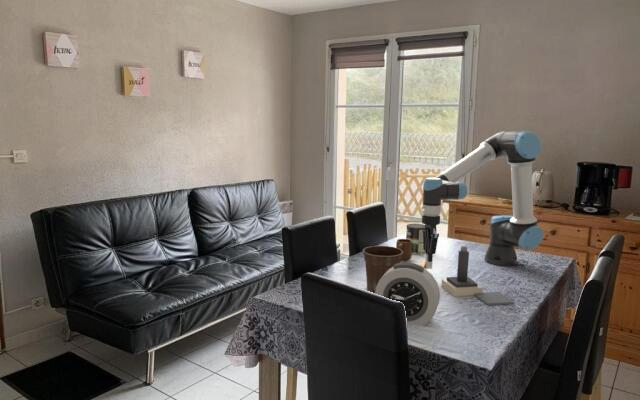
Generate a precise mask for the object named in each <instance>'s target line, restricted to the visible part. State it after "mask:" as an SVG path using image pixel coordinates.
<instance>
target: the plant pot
mask: <svg viewBox="0 0 640 400" xmlns="http://www.w3.org/2000/svg"><path fill="white" fill-rule="evenodd" d="M362 252H363V256H364V257H363V258H364V262H365V276H366V277H365V278H366V288H367V290H369V291H370V292H372V293H375V290H376V286H377V284H378V282H379V280H380V279H381V278H382V277H383V275H384V274H385V273H386V272H387V271H388V270H389V269H390V268H392V267H394V265H395V264H397V263H402V261H401V257H402V254H403V251H402V250H401V249H399V248H396V246H395V247H394V246H388V245H373V246H372V245H371V246H366V247H365V248H363V249H362Z"/></svg>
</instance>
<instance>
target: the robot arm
mask: <svg viewBox="0 0 640 400" xmlns="http://www.w3.org/2000/svg"><path fill="white" fill-rule="evenodd" d="M541 149H542V143H541V140H540V138H539V135H537V134H536V133H534V132H532V131H528V130H502V131H500V132H498V133H495V134H493V135H492V136H490V137H488V138H487V139H485V140H484V141H483V142H481V143H480V144H479V147H477V148H476V149H475V150H473V151H472V152H470V153H469V154H467V155H466V156H465V157H463V158H461V159H460V160H458V161H457V162H456V163H454V164H453V165H451V166H449V168H447V169H445V170H444V171H442V172H441V173H440V174H437V176H435V177H426V178H425V179H424V181H423V186H422V190H423V191H422V207H421V210H422V212H421V213H422V215H421V224H423V225H425V228H422V232H423V249H424V250H425V253H424V254H425V257H424V258H425V259H424V262H425V269H426V270H430V269H433V257H434V255H436V253H437V245H438V241H439V237H440V233H437V225H440V223H441V209H442V201H455V200H456V201H458V200H464V199H465V198H466V197H467V195H468V187H467V185H466V183H465V182H463V181H462V180H463V179H464V178H466V177H467V176H468V175H470V174H471V173H473V172H474V171H475V170H477V169H479V168H480V167H481V166H484V164H486V163H488V162H489V161H494V160H496V159H497V158H500V157H506V162H507V164H508V165H510V173H511V174H510V177H511V197H512V200H511V201H512V202H511V203H512V215H509V214H508V215H493V216H492V217H491V220H490V226H489V227H490V229H489V243H488V247H487V249H486V251H485V254H484V261H485V262H486V263H488V264H491V265H495V266H503V267H505V266H506V267H507V266H508V267H509V266H515V265H517V264H518V257H517V252H516V249H515V247H517V248H520V249H521V250H527V251H532V250H535V249H537V247H539V245H541V243H542V241H543V239H544V231H543V229H542V228H541V227H540V226H538V219H537V217H535V216H534V197H533V196H534V194H533V191H534V190H533V171H532V170H533V168H532V167H533V164H534V163H535V162H536V158H537V157H538V156H539V154H540V153H541ZM539 152H540V153H539Z"/></svg>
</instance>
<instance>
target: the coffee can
mask: <svg viewBox="0 0 640 400" xmlns="http://www.w3.org/2000/svg"><path fill="white" fill-rule="evenodd" d="M422 228H425V224H423V223H407V224H406V233H405V234H406V236H405V239H408V240H411V241H412V252H411V255H422V254H426V253H425V250H424V249H423V232H422Z"/></svg>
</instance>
